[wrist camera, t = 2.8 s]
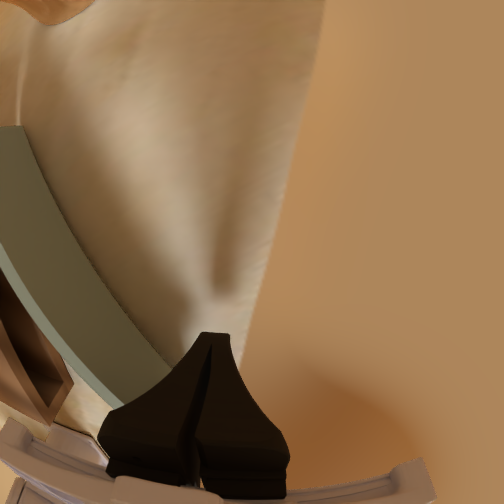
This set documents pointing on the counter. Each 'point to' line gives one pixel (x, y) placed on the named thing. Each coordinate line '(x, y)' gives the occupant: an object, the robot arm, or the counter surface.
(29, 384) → the cabinet
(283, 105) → the counter surface
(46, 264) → the cabinet door
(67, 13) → the beer glass
